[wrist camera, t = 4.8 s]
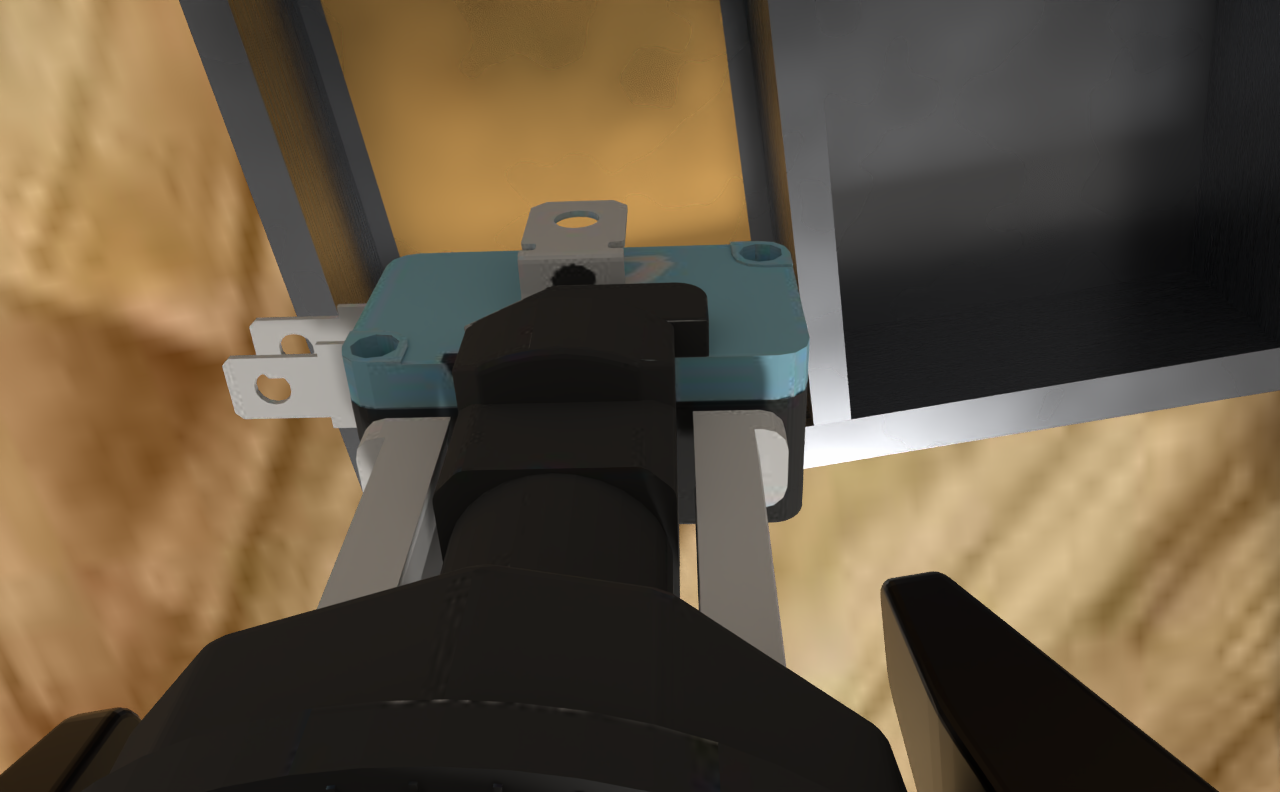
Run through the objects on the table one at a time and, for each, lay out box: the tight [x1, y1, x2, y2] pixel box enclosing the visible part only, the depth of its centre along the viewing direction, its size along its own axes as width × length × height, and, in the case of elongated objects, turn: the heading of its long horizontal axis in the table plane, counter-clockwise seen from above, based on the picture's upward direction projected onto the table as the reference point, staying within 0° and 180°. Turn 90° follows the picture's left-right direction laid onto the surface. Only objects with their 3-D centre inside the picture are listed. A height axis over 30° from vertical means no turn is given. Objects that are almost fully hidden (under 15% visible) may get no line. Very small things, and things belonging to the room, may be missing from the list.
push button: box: [81, 200, 907, 792], centre depth 9 cm, size 7×5×10 cm
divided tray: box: [179, 0, 1280, 491], centre depth 16 cm, size 23×11×4 cm, turn 100°
